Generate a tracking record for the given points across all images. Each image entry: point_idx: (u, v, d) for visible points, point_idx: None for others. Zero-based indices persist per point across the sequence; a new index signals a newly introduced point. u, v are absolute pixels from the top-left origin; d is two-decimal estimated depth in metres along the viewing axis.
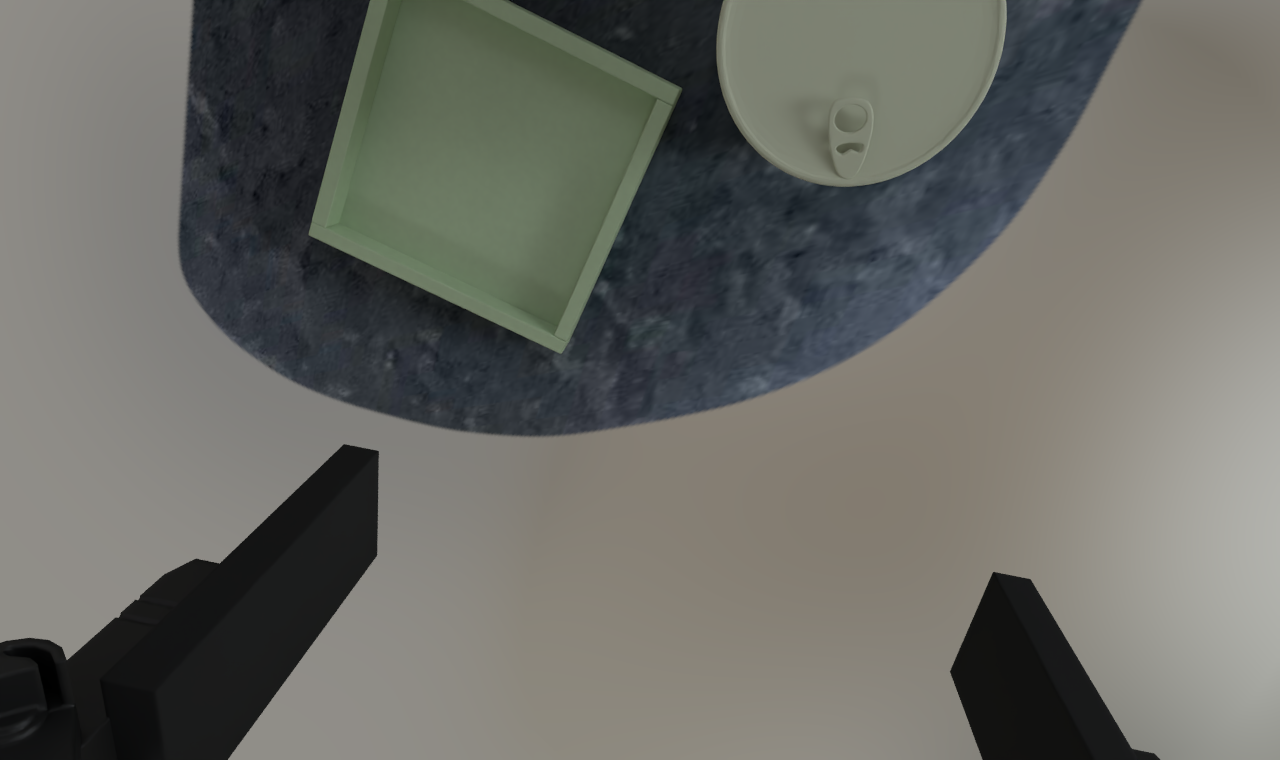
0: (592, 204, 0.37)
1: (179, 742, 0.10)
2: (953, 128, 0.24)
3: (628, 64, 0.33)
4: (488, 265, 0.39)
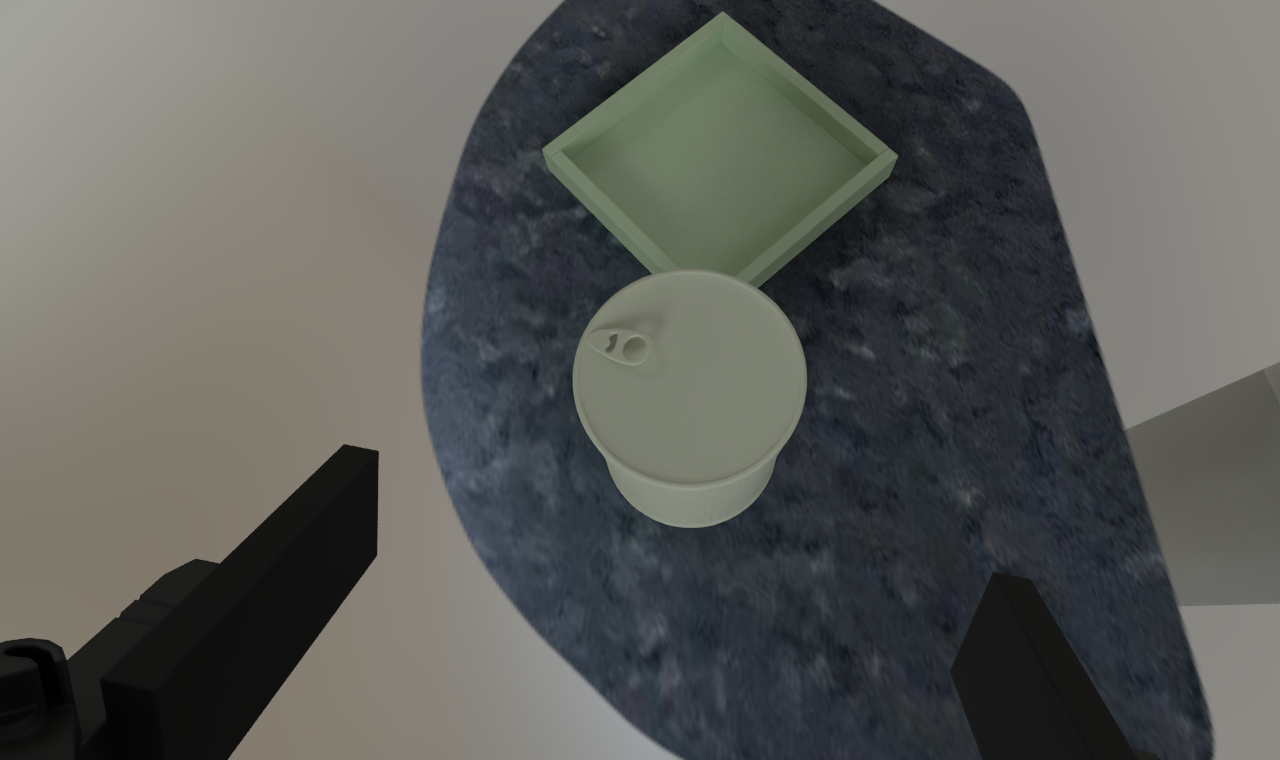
0: (650, 227, 0.43)
1: (179, 742, 0.10)
2: (591, 425, 0.28)
3: None
4: (639, 132, 0.45)
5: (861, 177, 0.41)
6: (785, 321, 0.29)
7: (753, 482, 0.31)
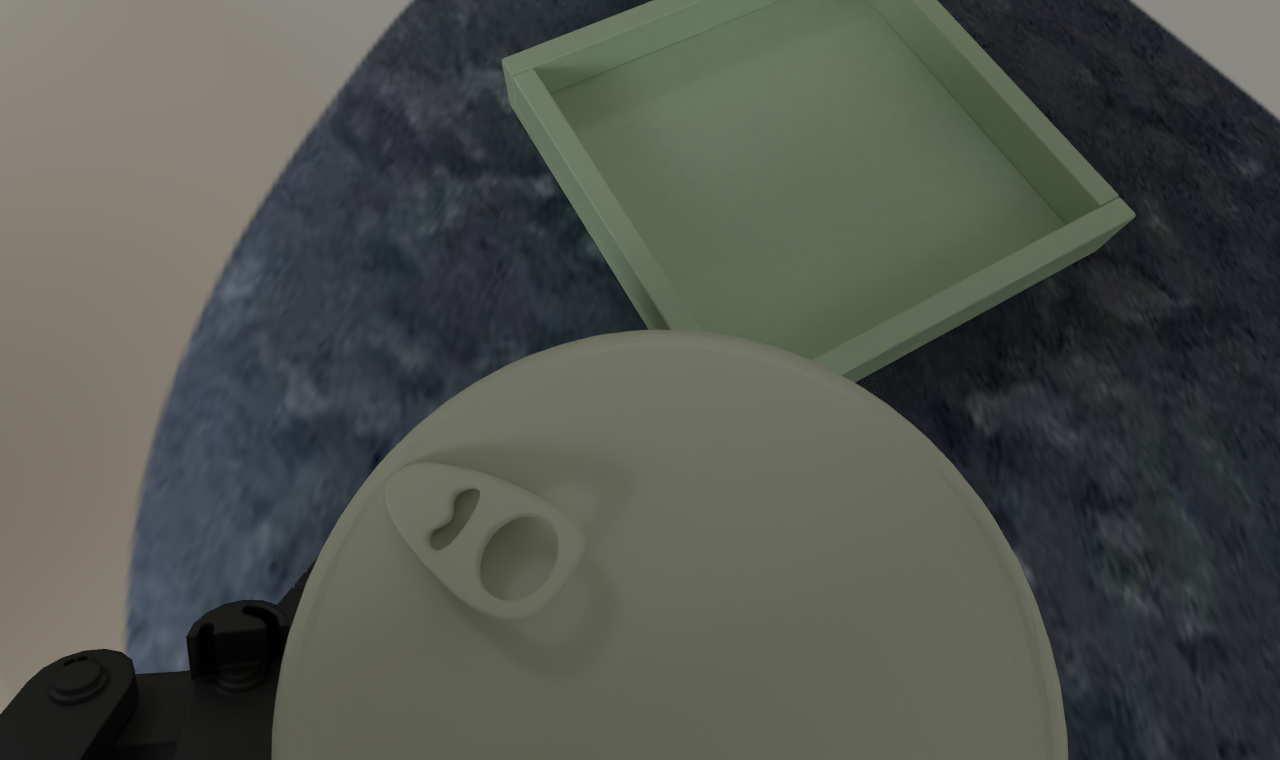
0: (661, 240, 0.23)
1: None
2: None
3: None
4: (678, 79, 0.26)
5: (1066, 237, 0.22)
6: (1013, 577, 0.09)
7: None
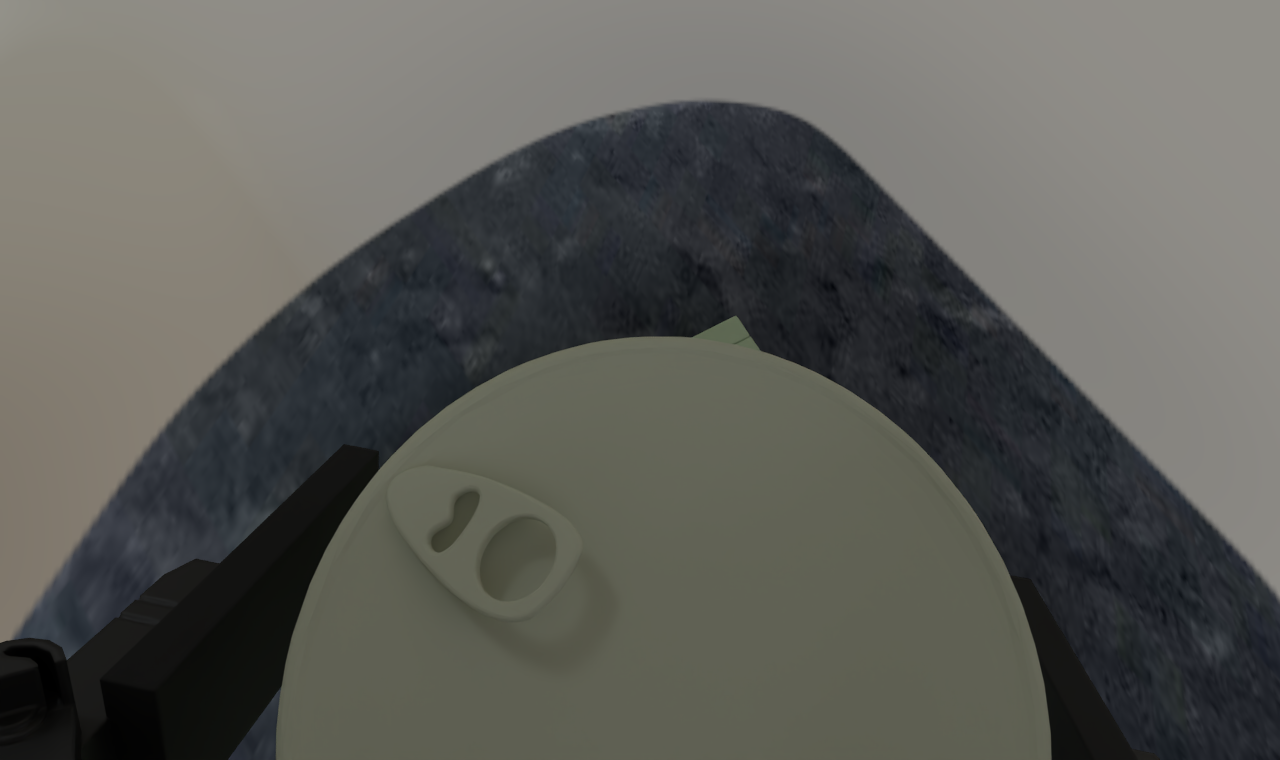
0: None
1: (179, 742, 0.10)
2: None
3: None
4: None
5: None
6: (999, 579, 0.09)
7: None
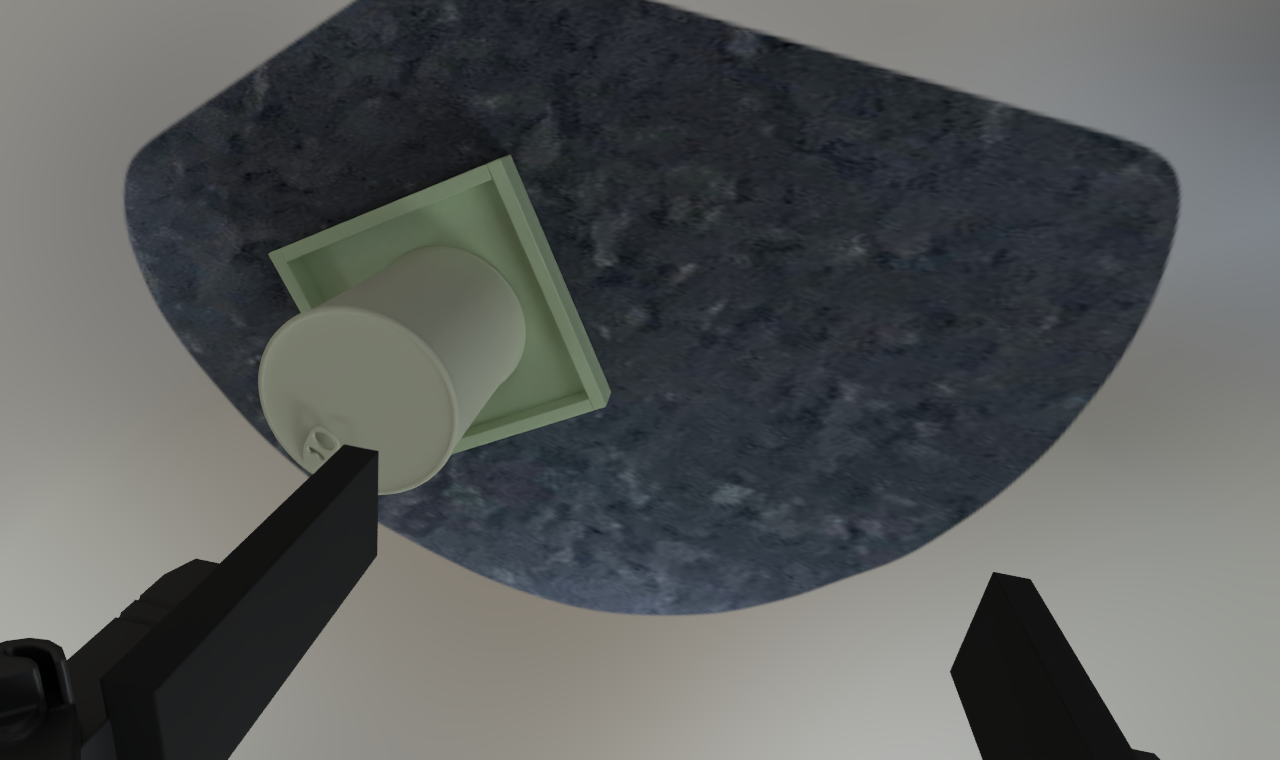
0: (495, 403, 0.44)
1: (179, 742, 0.10)
2: (383, 490, 0.34)
3: (588, 366, 0.41)
4: None
5: (512, 208, 0.38)
6: (327, 311, 0.30)
7: (479, 347, 0.35)
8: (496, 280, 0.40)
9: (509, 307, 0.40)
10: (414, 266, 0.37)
